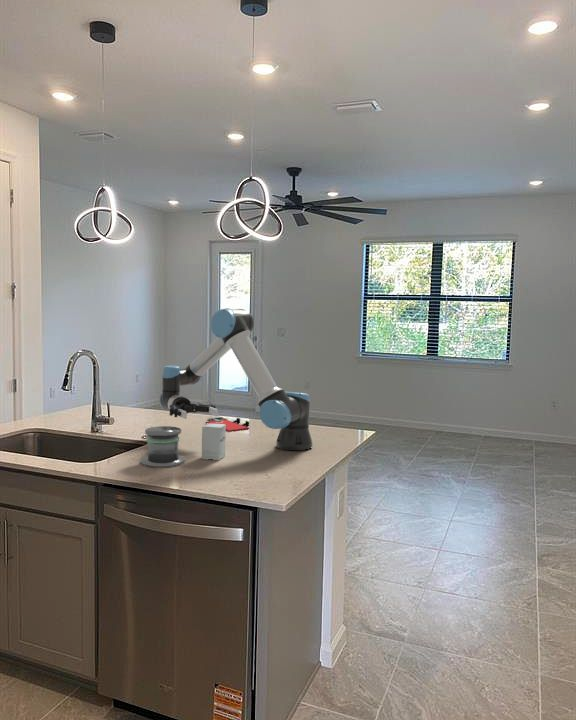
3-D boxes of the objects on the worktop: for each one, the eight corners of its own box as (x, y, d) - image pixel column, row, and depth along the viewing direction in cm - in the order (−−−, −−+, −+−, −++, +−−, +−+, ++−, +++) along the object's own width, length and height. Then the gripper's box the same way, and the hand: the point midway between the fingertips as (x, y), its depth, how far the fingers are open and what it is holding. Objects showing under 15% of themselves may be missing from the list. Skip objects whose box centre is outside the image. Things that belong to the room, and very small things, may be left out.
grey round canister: (193, 460, 219) (194, 429, 218) (164, 470, 205) (164, 436, 204) (161, 454, 227) (162, 423, 226) (131, 463, 214) (131, 430, 213)
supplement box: (219, 460, 220) (220, 427, 219) (201, 459, 222) (201, 426, 221) (225, 456, 227) (226, 424, 226) (207, 454, 229) (208, 422, 228)
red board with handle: (224, 418, 304) (198, 421, 296) (224, 413, 304) (198, 416, 295) (255, 429, 280) (228, 433, 272) (255, 424, 280) (228, 427, 271)
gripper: (206, 411, 256) (229, 420, 239) (151, 416, 242) (171, 425, 225) (206, 394, 256) (229, 402, 238) (151, 398, 242) (172, 406, 224)
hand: (201, 414), depth 231 cm, fingers open, 13 cm apart
